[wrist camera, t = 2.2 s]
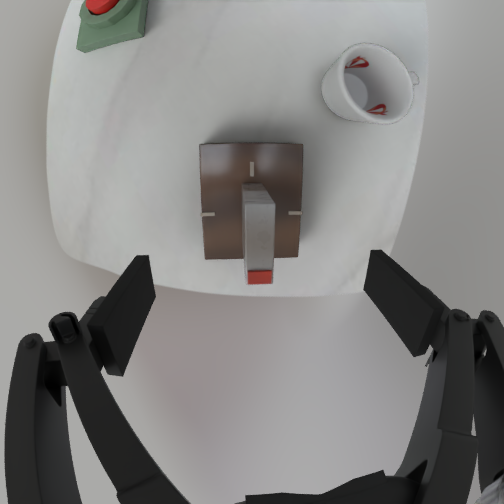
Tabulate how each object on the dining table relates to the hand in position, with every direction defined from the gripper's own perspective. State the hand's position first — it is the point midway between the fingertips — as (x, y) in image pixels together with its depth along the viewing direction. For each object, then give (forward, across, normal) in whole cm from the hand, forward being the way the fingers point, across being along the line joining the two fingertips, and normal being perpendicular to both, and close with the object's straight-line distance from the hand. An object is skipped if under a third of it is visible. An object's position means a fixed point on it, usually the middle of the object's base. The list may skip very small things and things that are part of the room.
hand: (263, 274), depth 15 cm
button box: (+16, -16, +26) cm, 34 cm away
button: (+12, -16, +26) cm, 33 cm away
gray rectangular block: (+13, 0, 0) cm, 13 cm away
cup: (+16, +12, +14) cm, 25 cm away
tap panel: (+16, 0, +1) cm, 16 cm away
